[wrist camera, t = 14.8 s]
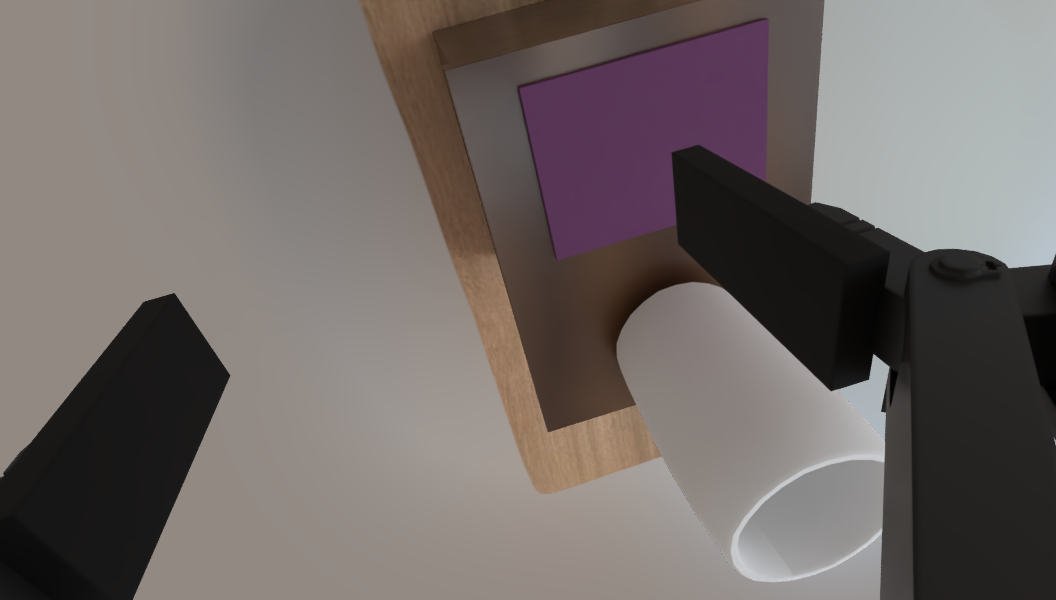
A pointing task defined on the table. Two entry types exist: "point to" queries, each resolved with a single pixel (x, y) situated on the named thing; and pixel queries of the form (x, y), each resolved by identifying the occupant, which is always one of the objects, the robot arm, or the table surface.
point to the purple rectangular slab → (643, 132)
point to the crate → (514, 193)
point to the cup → (752, 435)
